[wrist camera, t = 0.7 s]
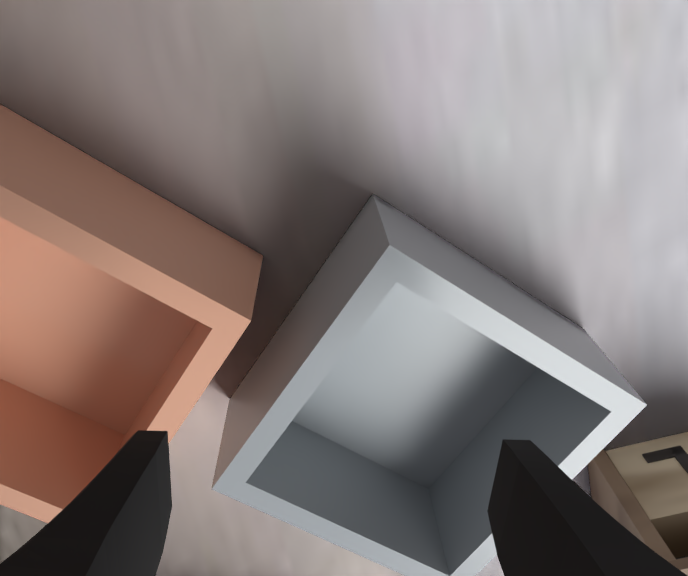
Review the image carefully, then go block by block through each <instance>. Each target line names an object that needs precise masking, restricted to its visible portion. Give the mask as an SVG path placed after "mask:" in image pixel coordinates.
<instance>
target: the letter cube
mask: <svg viewBox="0 0 688 576" xmlns="http://www.w3.org/2000/svg"><path fill="white" fill-rule="evenodd" d="M605 452H606V454H607V455H608V457H609V458H610V460H611V461H612V463H613V464H614V466H615V467H616V469H617V470H618V472H619V474H620V475H621V477H622V478H623V480H624V481H625V483H626V484H627V486H628V487H629V489H630V490H631V492H632V493H633V495H634V496H635V498H636V499H637V501H638V502H639V504H640V505H641V507H642V508H643V510H644V512H645V513H646V515H647V516H648V518H649V519H650V521H651V522H652V524H653V525H654V527H655V528H656V530H657V531H658V533H659V534H660V536H661V537H662V539H663V540H664V542H665V543H666V545H667V546H668V548H669V549H670V551H671V553H672V554H673V556H674V557H675V559H676V560H677V559H681V558H686V557H688V432H684V433H680V434H676V435H672V436H667V437H663V438H659V439H654V440H650V441H646V442H641V443H637V444H633V445H628V446H624V447H620V448H615V449H611V450H607V451H605Z"/></svg>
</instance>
